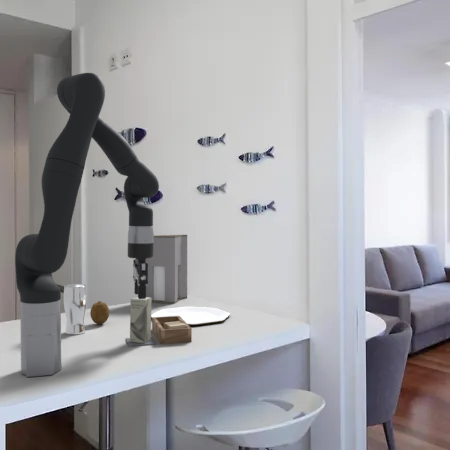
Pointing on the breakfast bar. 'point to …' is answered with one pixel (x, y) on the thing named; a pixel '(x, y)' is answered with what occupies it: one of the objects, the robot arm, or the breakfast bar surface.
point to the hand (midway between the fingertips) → (140, 296)
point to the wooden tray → (171, 330)
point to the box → (140, 320)
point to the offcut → (174, 325)
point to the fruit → (99, 313)
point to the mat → (150, 342)
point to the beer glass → (75, 308)
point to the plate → (194, 314)
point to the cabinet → (168, 269)
